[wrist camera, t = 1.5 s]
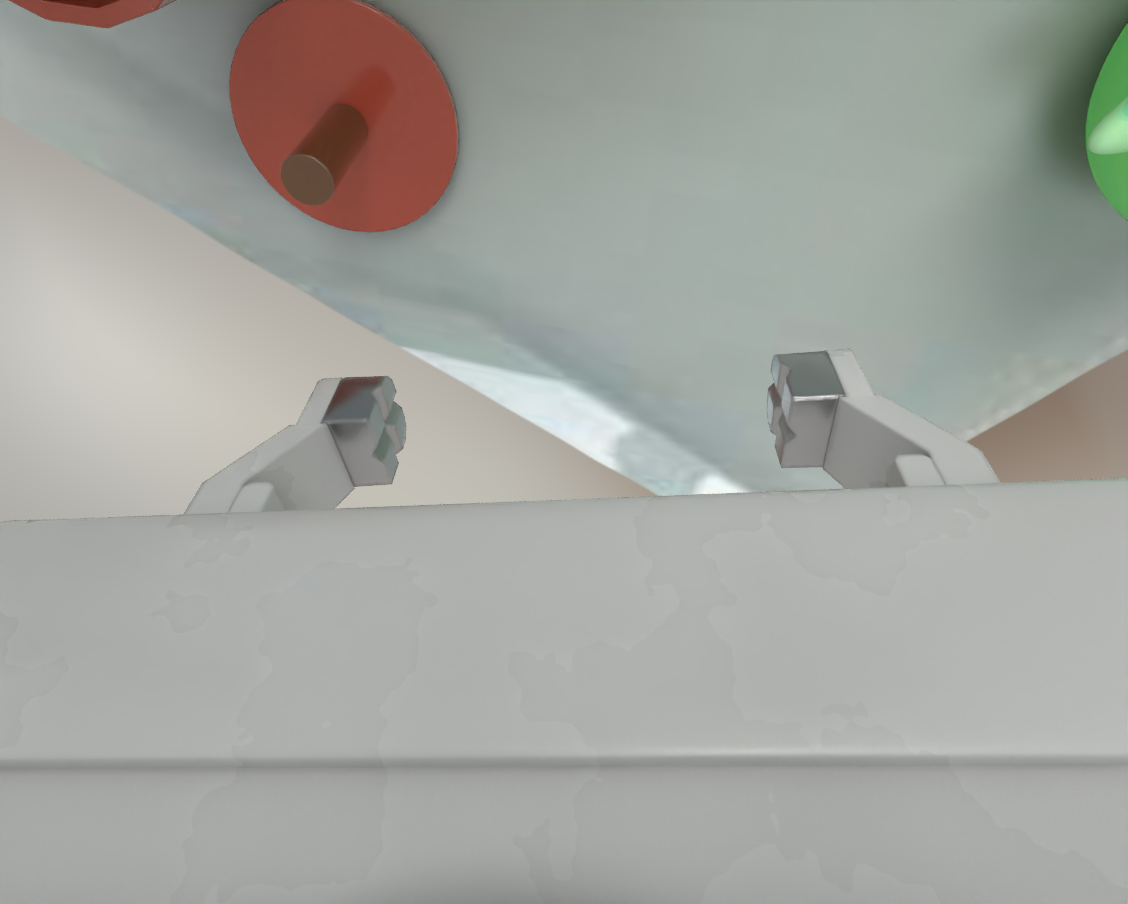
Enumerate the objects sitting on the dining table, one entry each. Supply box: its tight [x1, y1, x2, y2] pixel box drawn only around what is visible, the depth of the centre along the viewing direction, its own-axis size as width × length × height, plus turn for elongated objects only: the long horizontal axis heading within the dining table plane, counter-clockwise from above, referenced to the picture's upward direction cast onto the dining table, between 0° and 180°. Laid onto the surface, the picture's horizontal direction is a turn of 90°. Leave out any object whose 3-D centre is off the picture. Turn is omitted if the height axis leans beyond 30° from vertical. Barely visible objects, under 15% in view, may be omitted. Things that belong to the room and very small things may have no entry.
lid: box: [230, 0, 459, 232], centre depth 37 cm, size 13×13×9 cm
